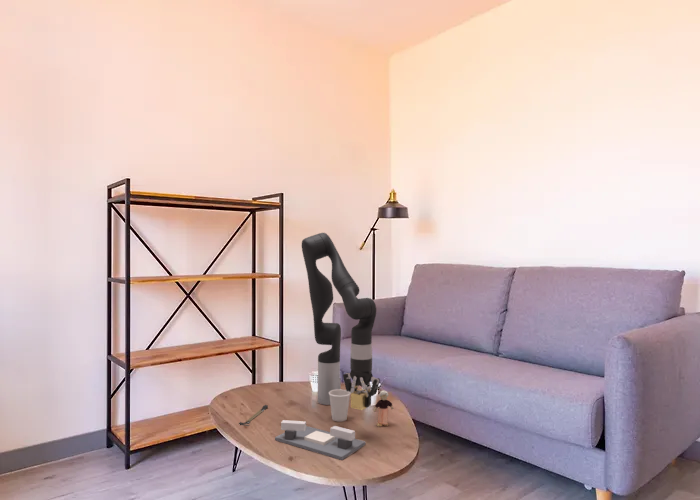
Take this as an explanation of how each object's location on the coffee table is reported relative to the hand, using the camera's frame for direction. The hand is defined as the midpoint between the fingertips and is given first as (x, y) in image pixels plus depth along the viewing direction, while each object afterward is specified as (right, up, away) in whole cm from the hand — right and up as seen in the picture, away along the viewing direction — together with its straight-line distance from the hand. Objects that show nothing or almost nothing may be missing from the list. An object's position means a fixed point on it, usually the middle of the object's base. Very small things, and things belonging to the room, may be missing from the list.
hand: (360, 405), depth 162 cm
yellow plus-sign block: (0, 0, 0) cm, 0 cm away
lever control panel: (-14, -10, -6) cm, 18 cm away
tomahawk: (-39, -11, +18) cm, 44 cm away
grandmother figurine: (+9, -11, +10) cm, 17 cm away
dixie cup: (-8, -11, +16) cm, 21 cm away
